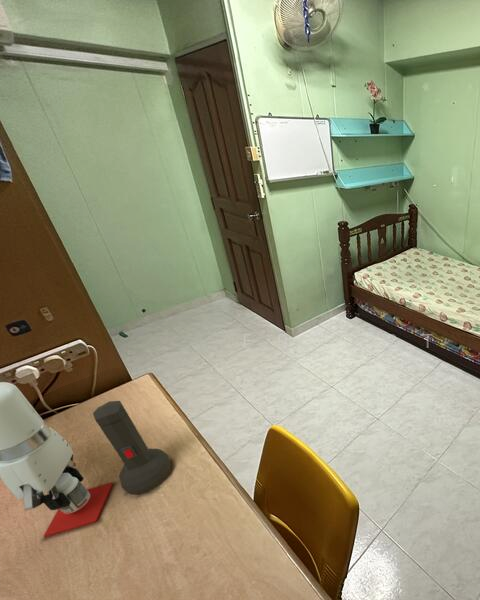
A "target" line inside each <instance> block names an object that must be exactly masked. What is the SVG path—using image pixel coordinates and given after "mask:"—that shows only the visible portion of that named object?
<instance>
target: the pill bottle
mask: <svg viewBox="0 0 480 600" xmlns="http://www.w3.org/2000/svg"><path fill="white" fill-rule="evenodd" d="M55 486H56V488H57V490H58V493H61V492H62V493H63V494H64V495H65V496H66V497H67V498H68V499H69V500H70V502H71V503H70V505H69V506H67V507H63V508H60V510H61V511H62V512H63V513H66V514H69V513H73V512H75V511H77V510H79V509H80V508H82V507H83V506H84V505H85V504H86V503H87V502H88V500H89V498H90V493H89V492H88V491H87V489H88V488H86V487H85V486H84V485H83V483H82V481H81V482H80V481H79V480H78V479H77V478H76V477H72V476H71V475H70V474H69V473H62V474H61V476H60V477H59V479H58V480H57V482H56V484H55ZM46 494H49V492H47V493H46Z"/></svg>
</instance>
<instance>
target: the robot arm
mask: <svg viewBox="0 0 480 600" xmlns="http://www.w3.org/2000/svg"><path fill="white" fill-rule="evenodd" d="M73 450H74V444H73V443H68V442H67V440H65V438H64V437H63V436H61V434H60V433H59V432H57V431H56V430H55V429H54V428H52V427H50V426H48V425H47V423H46V422H45V420H44V419H43V418H42V417H41V416H40V414H39V413H38V412H37V411H36V409H35V408H34V406H33V405H32V404H31V403H30V402H29V401H28V399H27V398H26V397H25V395H24V394H23V393H22V391H21V390H20V389H19V387H18V386H16V385H15V384H14V383H11V382H6V381H0V478H1V480H2V482H3V483H4V485H5V487H7V489H8V490H9V491H10V492H11V494H12V495H13V496H14V497H15V498H16V499H17V500H20V501H21V500H23V510H24V511H30V510H33V509H36V508H37V507H39V506H41V505H42V504H44V505H45V506H46V507H47V508H48V510H50V511H56V510H57V511H58V509H60V508H63V507H67V506H69V505H70V503H71V502H70V500H69V499H68V498H67V497H66V496H65V495H64V494H63V493H62V492H61V493H58V490H57V488H56V486H55V484H56V482H57V480H58V479H59V477H60V476H61V474H62V473H69V474H70V475H71V476H72V477H76V478H77V479H78V480H79V481H80V482H81V483H82V482H83V481H84V476H83V475H82V474H81V473H80V472H79V470H78V469H77V468H76V466H77V463H76V462H75V461H74V452H73ZM47 492H49V494H48V493H47Z"/></svg>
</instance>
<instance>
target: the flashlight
mask: <svg viewBox="0 0 480 600" xmlns="http://www.w3.org/2000/svg"><path fill="white" fill-rule="evenodd" d="M92 415H93V418H94V420H95V422H96V424H97V425H98V427H100V429H101V431H102V433H103V434H104V435H105V437H106V439H107V441H109V443H110V445H111V446H112V447H113V449H114V450H115V452H116V453H117V455H118V457H119V458H120V459H121V461H122V462H123V466H122V468H121V470H120V473H119V475H118V476H119V482H120V486H121V489H123V490H124V491H125V492H127V493H128V494H129V495H142V494H145V493H148V492H150V491H152V490H154V489H156V488H157V487H159V486H160V485H161V484H162V483H163V482H164V481H165V480H166V479H167V477H168V476H169V475H170V472H171V468H172V465H171V459H170V456H169V455H168V454H167V453H166V452H165V451H163V449H159V448H149V447H148V446H147V444H146V443H145V441H144V439H143V437H142V435H141V433H140V432H139V430H138V429H137V427H136V425H135V423H134V422H133V420H132V419H131V417H130V415H129V413H128V412H127V410H126V409H125V406H124V405H123V403H122V402H121V400H113V401H108V402H106V403H104V404H102V405H100V406H98V407H97V408H96V409H95V410H94V412H92Z"/></svg>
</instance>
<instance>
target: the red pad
mask: <svg viewBox="0 0 480 600" xmlns="http://www.w3.org/2000/svg"><path fill="white" fill-rule="evenodd" d="M113 486H114V482H109V483H105V484H102V485H98V486H94V487H91V488H86V489H87V491H88V492H89V493H90V498H89V500H88V502H87V503H86V504H85V505H84V506H83V507H82V508H80V509H79V510H77V511H75V512H73V513H69V514H66V513H63V512H62V511H61V510H60V509H57V511H56V513H55V514H54V516H53V518H52V520H51V522H50V524H49V526H48V528H47V529H46V531H45V533H44V534H43V537H44V538H47V537H51V536H54V535H58V534H61V533H64V532H68V531H71V530H74V529H78V528H83V527H84V526H88V525H92V524H94V523H97V522H98V521H99V518H100V517H101V514H102V511H103V508H104V507H105V504H106V503H107V500H108V497H109V496H110V493H111V491H112V488H113Z"/></svg>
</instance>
